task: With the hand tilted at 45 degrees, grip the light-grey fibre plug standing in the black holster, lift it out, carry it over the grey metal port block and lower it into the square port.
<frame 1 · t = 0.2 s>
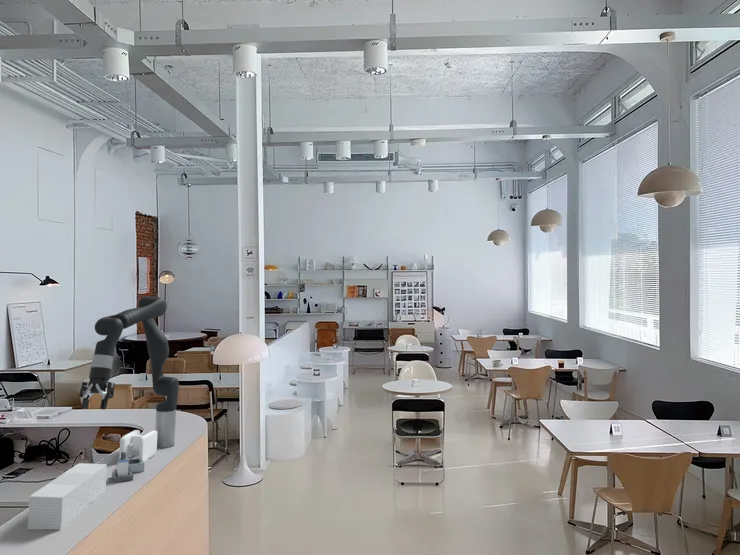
hand: (93, 409, 215), 30 cm above the counter, tool tilted 15°, fingers open, 8 cm apart
holster: (122, 480, 223), on the counter
stack of papers: (69, 510, 194), on the counter
plug: (122, 478, 223), point 1 cm above the counter, touching holster
cable organizer: (137, 459, 248), on the counter
port: (132, 471, 233), on the counter
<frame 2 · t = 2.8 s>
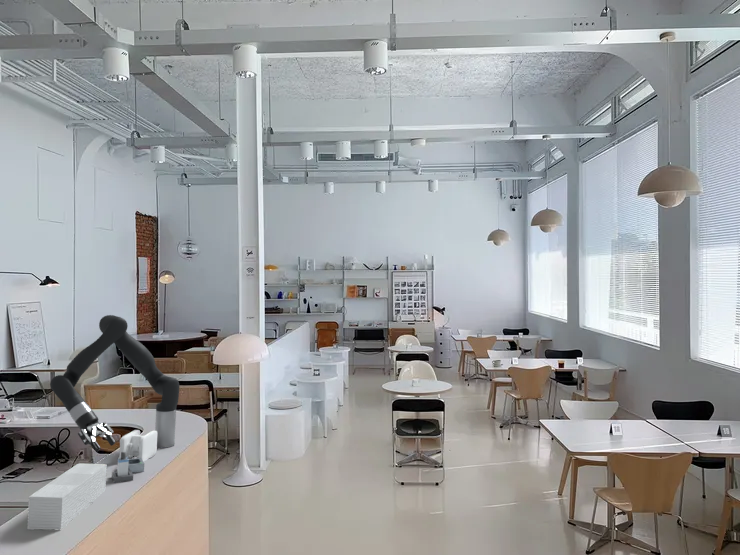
hand: (106, 447, 224), 12 cm above the counter, tool tilted 45°, fingers open, 8 cm apart
nothing on the counter moved.
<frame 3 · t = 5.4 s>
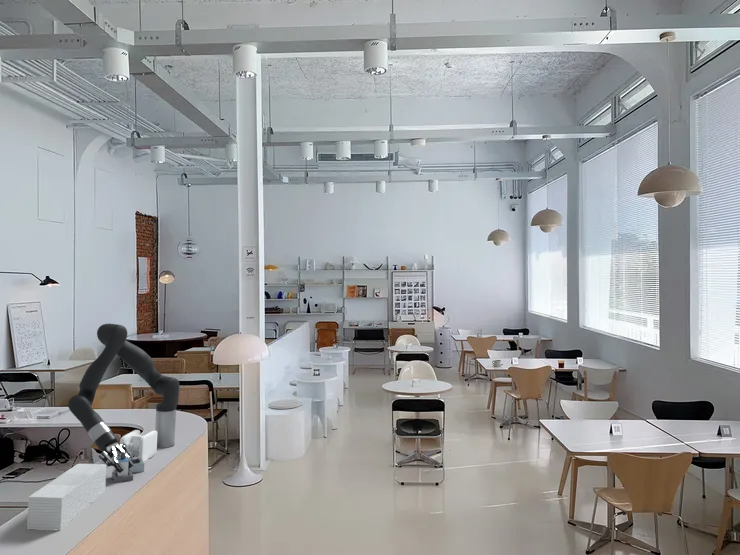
hand: (126, 469, 222), 5 cm above the counter, tool tilted 45°, fingers closed on plug, 5 cm apart
plug: (122, 478, 223), point 1 cm above the counter, touching gripper, holster
everything else where it was.
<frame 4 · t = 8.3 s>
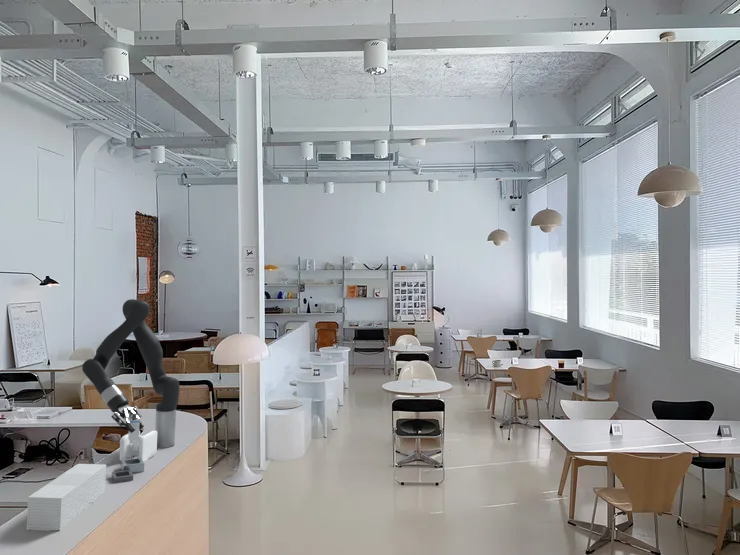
hand: (137, 429, 232), 18 cm above the counter, tool tilted 45°, fingers closed on plug, 5 cm apart
plug: (133, 438, 233), point 14 cm above the counter, touching gripper
everything else where it was.
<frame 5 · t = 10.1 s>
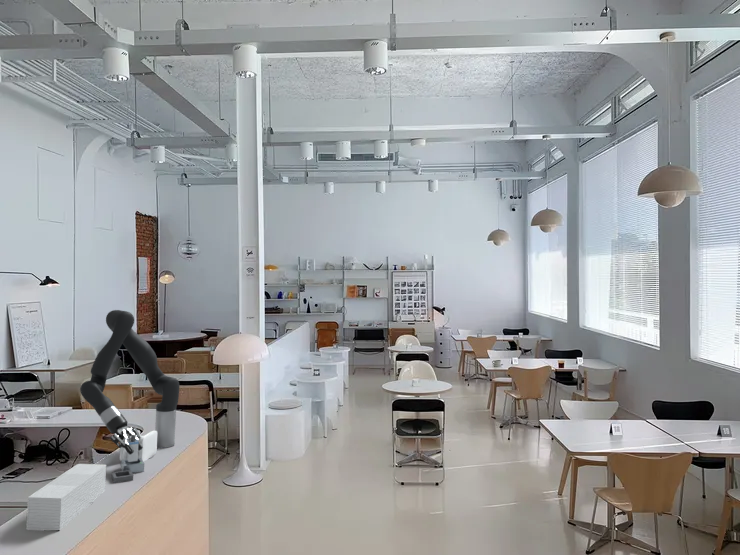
hand: (136, 451, 232), 9 cm above the counter, tool tilted 45°, fingers closed on plug, 5 cm apart
plug: (132, 460, 233), point 5 cm above the counter, touching gripper
everything else where it was.
when the fingers open (6 cm above the counter, at t = 11.4 s): plug drops 1 cm, resting on port.
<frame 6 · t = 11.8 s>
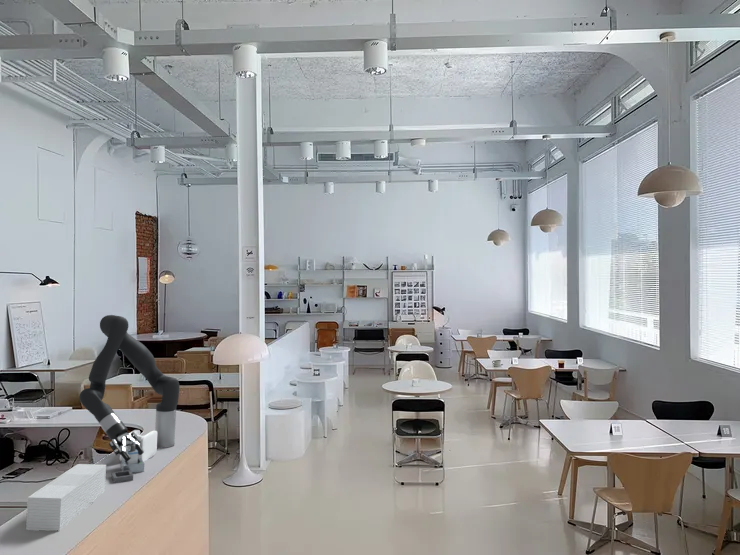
hand: (135, 456, 233), 6 cm above the counter, tool tilted 45°, fingers open, 8 cm apart
plug: (131, 470, 233), point 1 cm above the counter, touching port
everything else where it was.
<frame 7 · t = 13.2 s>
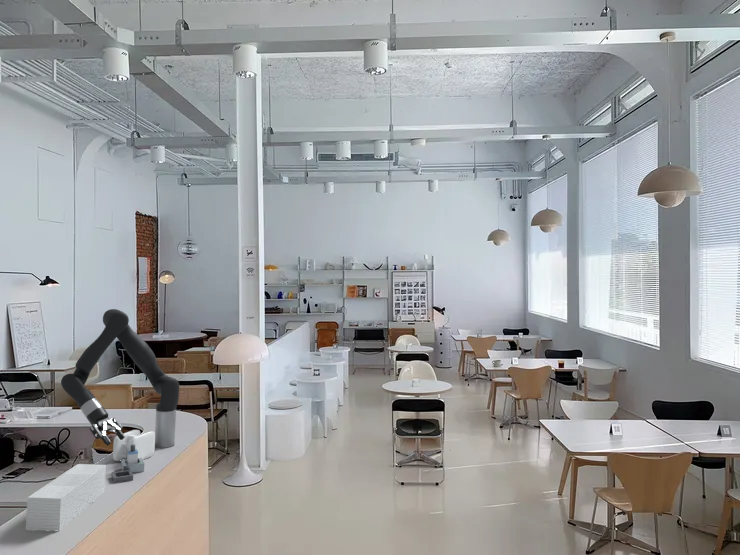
hand: (116, 441, 235), 12 cm above the counter, tool tilted 45°, fingers open, 8 cm apart
cable organizer: (133, 459, 247), on the counter
everything else where it was.
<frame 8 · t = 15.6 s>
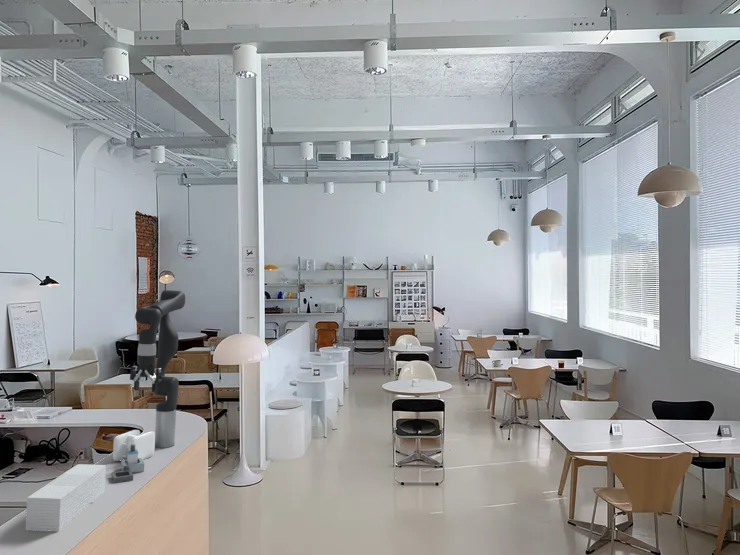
hand: (145, 390, 241), 32 cm above the counter, tool pointing down, fingers open, 8 cm apart
at the end: plug 0.1 cm off-centre on the port, point 0.5 cm above the port's base; plug tilted 0°; the gripper is holding nothing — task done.
